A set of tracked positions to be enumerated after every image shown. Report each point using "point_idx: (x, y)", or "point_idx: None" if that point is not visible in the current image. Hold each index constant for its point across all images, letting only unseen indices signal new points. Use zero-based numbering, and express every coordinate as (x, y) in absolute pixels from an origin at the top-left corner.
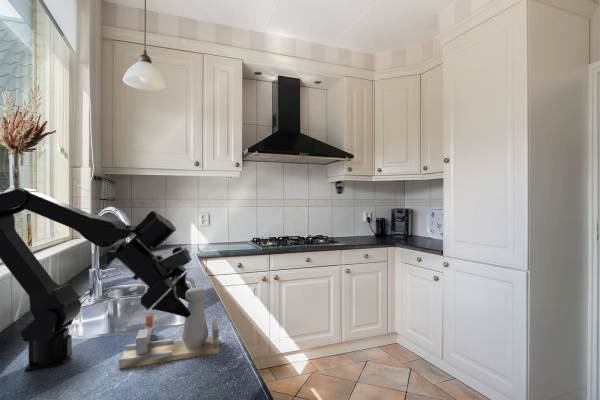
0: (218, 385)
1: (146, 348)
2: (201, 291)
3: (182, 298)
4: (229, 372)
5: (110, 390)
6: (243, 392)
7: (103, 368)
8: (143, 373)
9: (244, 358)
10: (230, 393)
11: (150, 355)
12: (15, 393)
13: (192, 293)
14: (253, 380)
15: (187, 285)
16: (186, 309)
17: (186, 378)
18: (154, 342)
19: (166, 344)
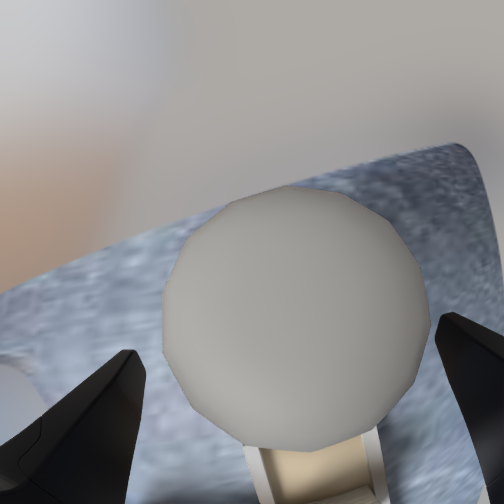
0: (471, 222)
1: (368, 496)
2: (350, 203)
3: (128, 469)
4: (424, 203)
5: (478, 469)
6: (476, 172)
7: None
8: (427, 447)
9: (352, 172)
10: (485, 195)
11: (383, 468)
12: None
13: (424, 312)
14: (440, 154)
15: (22, 449)
16: (487, 329)
17: (459, 310)
18: (273, 500)
19: (265, 459)
